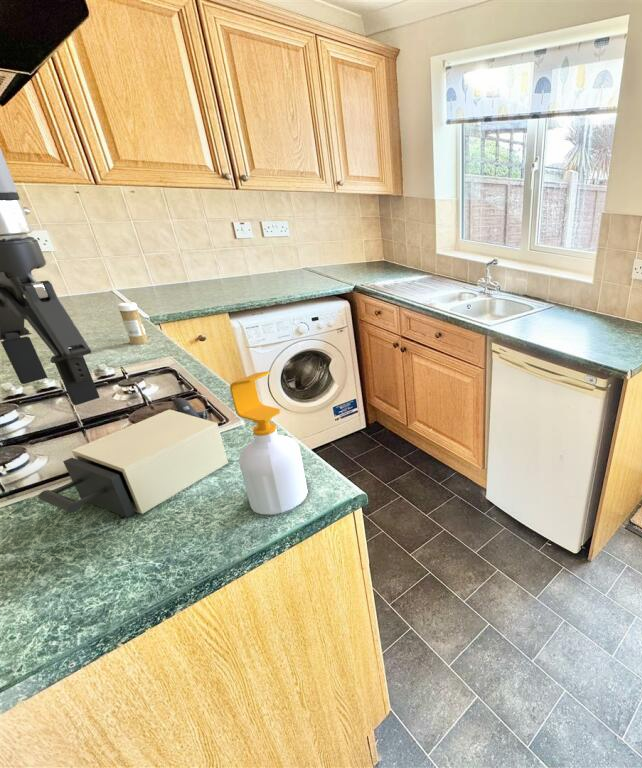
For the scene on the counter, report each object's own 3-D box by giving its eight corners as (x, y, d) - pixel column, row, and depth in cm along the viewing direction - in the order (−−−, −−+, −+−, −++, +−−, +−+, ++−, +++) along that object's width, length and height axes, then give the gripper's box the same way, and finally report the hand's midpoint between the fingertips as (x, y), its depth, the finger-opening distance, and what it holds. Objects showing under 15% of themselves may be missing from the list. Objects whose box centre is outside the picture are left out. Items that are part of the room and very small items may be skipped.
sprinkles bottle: (152, 342, 138) (139, 302, 133) (142, 346, 134) (129, 305, 129) (137, 341, 138) (123, 301, 132) (127, 346, 134) (112, 305, 128)
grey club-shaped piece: (217, 436, 91) (211, 414, 89) (177, 447, 87) (170, 424, 84) (200, 405, 103) (194, 385, 100) (165, 414, 98) (157, 392, 96)
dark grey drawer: (89, 539, 63) (70, 499, 60) (42, 518, 66) (21, 479, 63) (212, 468, 80) (201, 433, 77) (169, 454, 83) (158, 420, 80)
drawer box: (142, 516, 69) (123, 469, 65) (92, 496, 73) (71, 450, 69) (228, 464, 83) (217, 422, 79) (182, 450, 86) (169, 409, 82)
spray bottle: (280, 522, 70) (250, 390, 59) (238, 508, 72) (202, 379, 62) (319, 490, 77) (298, 368, 67) (280, 478, 80) (254, 359, 70)
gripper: (87, 244, 51) (142, 399, 60) (-15, 226, 59) (47, 364, 68) (-1, 249, 44) (75, 422, 53) (-102, 228, 53) (-21, 381, 62)
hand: (59, 390), depth 61 cm, fingers open, 13 cm apart
